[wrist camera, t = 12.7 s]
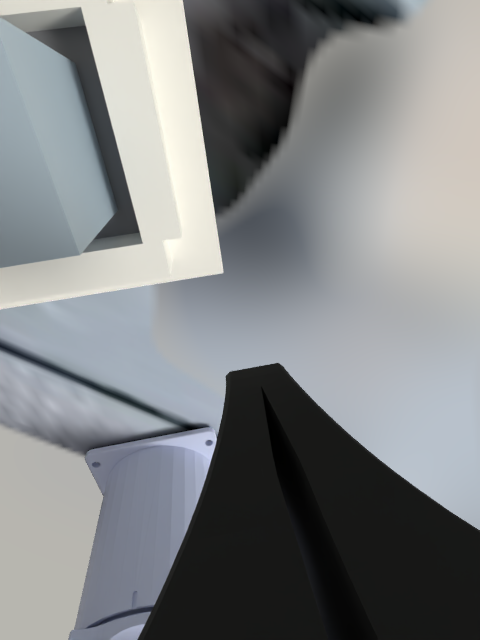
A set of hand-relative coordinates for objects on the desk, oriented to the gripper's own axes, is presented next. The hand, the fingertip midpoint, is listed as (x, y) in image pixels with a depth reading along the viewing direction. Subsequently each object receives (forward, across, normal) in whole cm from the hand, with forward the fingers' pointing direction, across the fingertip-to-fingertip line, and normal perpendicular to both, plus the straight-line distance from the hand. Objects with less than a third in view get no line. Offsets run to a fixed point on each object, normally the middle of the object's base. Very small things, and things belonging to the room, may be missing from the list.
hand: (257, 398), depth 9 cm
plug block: (+9, +6, -6) cm, 12 cm away
